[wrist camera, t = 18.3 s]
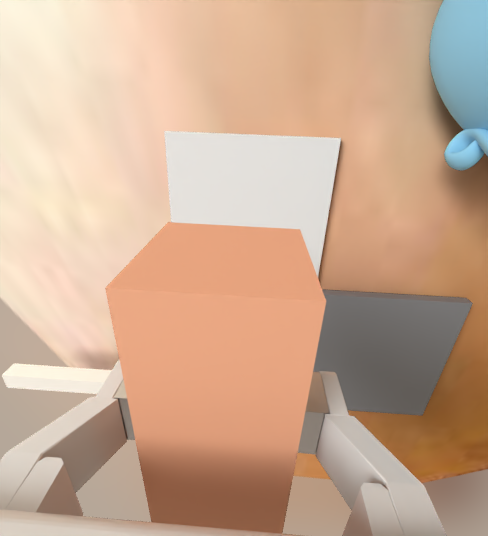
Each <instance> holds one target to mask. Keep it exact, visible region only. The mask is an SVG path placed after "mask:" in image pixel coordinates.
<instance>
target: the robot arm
mask: <svg viewBox="0 0 488 536" xmlns="http://www.w3.org/2000/svg"><path fill="white" fill-rule="evenodd" d="M127 440H135V436H134V430H133V425H132V420H131V415H130V410H129V405H128V400H127V395H126V390H125V385H124V380H123V375H122V370H121V365H120V360H118V361H117V363H116V364H115V366H114V368H113V369H112V371H111V372H110V374H109V376H108V377H107V379H106V381H105V382H104V384H103V385H102V387H101V389H100V390H99V392H98V394H97V395H96V397H90V398H88V399H87V400H85V401H84V402H82V403H81V404H79V405H78V406H76V407H74V408H73V409H71V410H70V411H68V412H67V413H65V414H64V415H62V416H61V417H59V418H58V419H56V420H55V421H53V422H52V423H50V424H49V425H47V426H46V427H44V428H43V429H41V430H39V431H38V432H36V433H35V434H33V435H32V436H30V437H29V438H27V439H26V440H24V441H23V442H21V443H20V444H18V445H17V446H15V447H14V448H12V449H11V450H9V451H8V452H7V453H6V454H5V455H4V457H3V458H2V459H1V460H0V536H303V535H291V534H280V533H269V532H257V531H246V530H235V529H223V528H212V527H200V526H189V525H177V524H166V523H154V522H143V521H131V520H119V519H108V518H97V517H85V516H83V512H82V509H81V506H80V504H79V501H78V498H77V496H76V492H77V491H78V490H79V489H80V488H81V487H82V486H83V485H84V484H85V483H86V482H87V481H88V480H89V479H90V478H91V477H92V476H93V475H94V474H95V473H96V472H97V471H98V470H99V469H100V468H101V467H102V466H103V465H104V464H105V463H106V462H107V461H108V460H109V459H110V458H111V457H112V456H113V455H114V454H115V453H116V452H117V451H118V450H119V449H120V448H121V447H122V446H123V445H124V444H125V443H126V442H127ZM298 453H308V454H316V457H317V459H318V460H319V462H320V463H321V465H322V466H323V468H324V469H325V471H326V472H327V474H328V476H329V477H330V479H331V480H332V481H333V483H334V485H335V486H336V487H337V489H338V491H339V492H340V494H341V495H342V497H343V498H344V500H345V501H346V503H347V504H348V506H349V507H350V509H351V510H352V512H351V515H350V517H349V520H348V522H347V525H346V527H345V530H344V533H343V535H342V536H446V533H445V531H444V529H443V527H442V524H441V522H440V520H439V518H438V515H437V513H436V511H435V509H434V506H433V504H432V502H431V500H430V498H429V495H428V493H427V491H426V489H425V486H424V485H423V484H422V483H421V482H420V481H419V480H418V479H417V478H416V477H415V476H414V475H413V474H412V473H411V472H410V471H409V470H408V469H407V468H406V467H405V466H404V465H403V464H402V463H401V462H400V461H399V460H398V459H397V458H396V457H395V456H394V455H393V454H392V453H391V452H390V451H389V450H388V449H387V448H386V447H385V446H384V445H383V444H382V443H381V442H380V441H379V440H378V439H377V438H376V437H375V436H374V435H373V434H372V433H371V432H370V431H369V430H368V429H367V428H366V427H365V426H364V425H363V424H361V423H360V422H359V421H358V420H357V419H356V418H355V417H354V416H349V413H348V410H347V407H346V403H345V400H344V397H343V394H342V390H341V387H340V384H339V380H338V377H337V374H336V373H335V372H327V371H313V374H312V379H311V385H310V390H309V395H308V400H307V406H306V411H305V416H304V421H303V427H302V432H301V437H300V443H299V448H298Z"/></svg>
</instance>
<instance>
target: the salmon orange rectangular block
mask: <svg viewBox="0 0 488 536" xmlns="http://www.w3.org/2000/svg"><path fill="white" fill-rule="evenodd" d="M105 289H106V294H107V299H108V304H109V309H110V314H111V319H112V324H113V329H114V334H115V339H116V344H117V349H118V354H119V360H120V365H121V370H122V375H123V380H124V385H125V390H126V395H127V400H128V405H129V410H130V415H131V420H132V425H133V430H134V436H135V440H136V446H137V451H138V455H139V461H140V466H141V471H142V476H143V481H144V486H145V491H146V496H147V501H148V506H149V512H150V516H151V522H154V523H166V524H177V525H189V526H200V527H212V528H223V529H235V530H246V531H257V532H269V533H280V534H282V532H283V527H284V522H285V516H286V511H287V506H288V500H289V495H290V490H291V485H292V479H293V474H294V469H295V464H296V458H297V453H298V448H299V443H300V437H301V432H302V427H303V421H304V416H305V411H306V406H307V400H308V395H309V390H310V385H311V379H312V374H313V369H314V363H315V358H316V353H317V348H318V342H319V337H320V332H321V327H322V321H323V316H324V311H325V306H326V299H325V296H324V294H323V291H322V288H321V285H320V283H319V280H318V277H317V274H316V272H315V269H314V266H313V263H312V261H311V258H310V255H309V252H308V250H307V247H306V244H305V241H304V239H303V236H302V233H301V230H300V229H286V228H267V227H248V226H230V225H211V224H192V223H173V222H168V223H167V224H166V225H165V226H164V227H163V228H162V229H161V230H160V231H159V232H158V233H157V234H156V235H155V237H154V238H153V239H152V240H151V241H150V242H149V243H148V244H147V245H146V246H145V247H144V248H143V249H142V250H141V251H140V252H139V253H138V254H137V255H136V256H135V257H134V259H133V260H132V261H131V262H130V263H129V264H128V265H127V266H126V267H125V268H124V269H123V270H122V271H121V272H120V273H119V274H118V275H117V276H116V277H115V278H114V279H113V280H112V282H111V283H110V284H109V285H108V286H107V287H106V288H105Z"/></svg>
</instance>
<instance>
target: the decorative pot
mask: <svg viewBox="0 0 488 536" xmlns="http://www.w3.org/2000/svg"><path fill="white" fill-rule="evenodd" d="M429 60H430V67H431V73H432V77H433V80H434V83H435V86H436V89H437V91H438V93H439V95H440V97H441V99H442V101H443V103H444V104H445V106H446V108H447V109H448V111H449V112H450V114H451V115H452V117H453V118H454V119H455V120H456V122H457V123H458V124H459V125H460V126H461V127H462V128H463V129H464V130H463V131H461V132H460V133H458V134H457V135H456V136H455V137H454V138H453V139H452V140H451V142H450V143H449V144H448V146H447V148H446V150H445V153H444V156H445V160H446V162H447V164H448V165H449V166H450V167H451V168H453V169H456V170H466V169H468V168H470V167H472V166H473V165H475V164H476V163H477V162H478V161H479V160H480V159H481V158H482V157H483V155H484V153H485V154H486V155H487V156H488V0H443V2H442V4H441V6H440V8H439V11H438V14H437V17H436V20H435V22H434V25H433V29H432V34H431V40H430V52H429Z"/></svg>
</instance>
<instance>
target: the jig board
mask: <svg viewBox="0 0 488 536" xmlns="http://www.w3.org/2000/svg"><path fill="white" fill-rule="evenodd" d="M322 291H323V294H324V296H325V299H326V306H325V311H324V316H323V321H322V327H321V332H320V337H319V342H318V348H317V353H316V358H315V363H314V369H313V371H327V372H335V373H336V374H337V377H338V380H339V384H340V387H341V390H342V394H343V397H344V400H345V403H346V407H347V410H352V411H366V412H380V413H394V414H408V415H423V413H424V411H425V409H426V406H427V404H428V402H429V400H430V397H431V395H432V393H433V391H434V388H435V386H436V384H437V382H438V380H439V377H440V375H441V373H442V371H443V368H444V366H445V364H446V362H447V359H448V357H449V355H450V353H451V351H452V348H453V346H454V344H455V342H456V339H457V337H458V335H459V333H460V330H461V328H462V326H463V324H464V321H465V319H466V317H467V315H468V313H469V310H470V308H471V306H472V304H473V303H472V302H470V301H469V300H468V299H467V298H460V297H442V296H425V295H408V294H390V293H373V292H356V291H338V290H322Z"/></svg>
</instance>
